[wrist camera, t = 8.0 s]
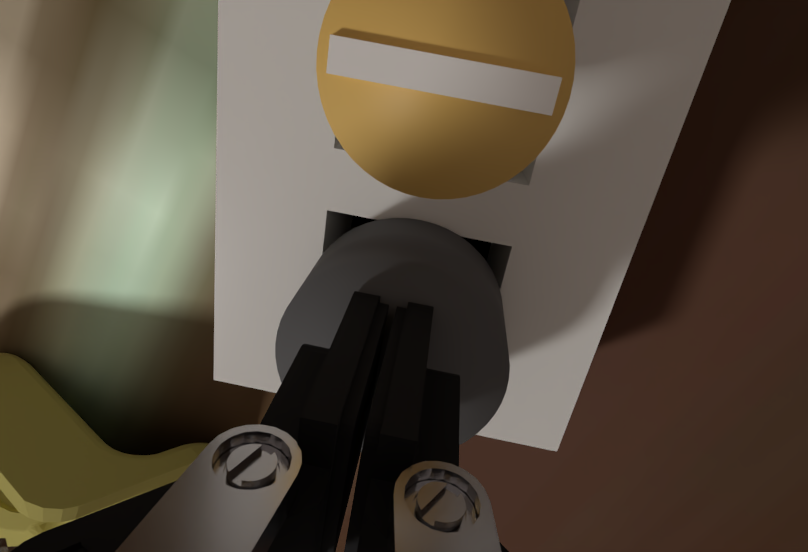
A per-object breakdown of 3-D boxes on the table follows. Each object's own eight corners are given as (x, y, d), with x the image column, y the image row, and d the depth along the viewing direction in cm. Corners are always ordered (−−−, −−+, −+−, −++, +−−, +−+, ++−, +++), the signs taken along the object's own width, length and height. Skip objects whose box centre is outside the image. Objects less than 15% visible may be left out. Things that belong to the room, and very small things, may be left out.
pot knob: (555, -18, 11) (616, -52, 6) (511, 154, 12) (535, 222, 8) (384, -49, 11) (327, -105, 7) (362, 126, 13) (303, 177, 8)
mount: (804, -415, 10) (983, -654, 7) (539, 370, 19) (557, 451, 15) (309, -492, 11) (228, -761, 7) (262, 313, 19) (213, 379, 15)
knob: (513, 195, 16) (539, 287, 10) (476, 336, 18) (479, 477, 12) (349, 163, 16) (283, 236, 10) (331, 307, 18) (268, 433, 12)
